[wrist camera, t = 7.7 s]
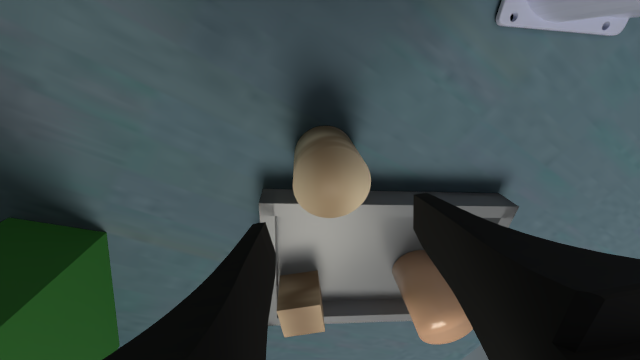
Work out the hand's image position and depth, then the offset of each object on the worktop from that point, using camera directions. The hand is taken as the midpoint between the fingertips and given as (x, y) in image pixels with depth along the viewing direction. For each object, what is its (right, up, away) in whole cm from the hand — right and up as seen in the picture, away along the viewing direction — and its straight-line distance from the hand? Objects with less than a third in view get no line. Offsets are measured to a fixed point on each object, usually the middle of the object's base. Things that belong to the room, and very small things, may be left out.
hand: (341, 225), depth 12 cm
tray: (+5, -6, +14) cm, 16 cm away
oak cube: (-3, -9, +14) cm, 18 cm away
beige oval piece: (-1, +4, +9) cm, 10 cm away
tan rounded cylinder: (+9, -7, +14) cm, 19 cm away
